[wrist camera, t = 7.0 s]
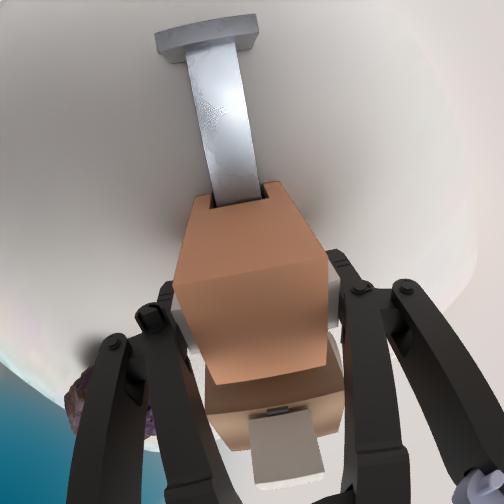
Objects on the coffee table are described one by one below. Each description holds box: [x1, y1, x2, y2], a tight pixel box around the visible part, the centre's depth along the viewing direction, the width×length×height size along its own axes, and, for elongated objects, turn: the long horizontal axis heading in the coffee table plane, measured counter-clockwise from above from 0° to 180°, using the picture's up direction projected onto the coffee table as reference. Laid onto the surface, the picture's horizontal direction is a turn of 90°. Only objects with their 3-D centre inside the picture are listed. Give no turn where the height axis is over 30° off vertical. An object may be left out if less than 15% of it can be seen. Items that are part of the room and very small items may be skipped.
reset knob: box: [248, 409, 325, 490], centre depth 11 cm, size 2×3×4 cm, turn 99°
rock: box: [64, 365, 156, 440], centre depth 21 cm, size 12×9×10 cm
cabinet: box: [205, 332, 345, 451], centre depth 18 cm, size 6×8×10 cm
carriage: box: [172, 181, 328, 385], centre depth 14 cm, size 6×5×9 cm
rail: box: [155, 14, 262, 208], centre depth 15 cm, size 18×4×4 cm, turn 9°
